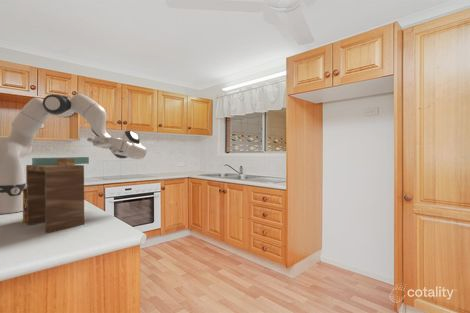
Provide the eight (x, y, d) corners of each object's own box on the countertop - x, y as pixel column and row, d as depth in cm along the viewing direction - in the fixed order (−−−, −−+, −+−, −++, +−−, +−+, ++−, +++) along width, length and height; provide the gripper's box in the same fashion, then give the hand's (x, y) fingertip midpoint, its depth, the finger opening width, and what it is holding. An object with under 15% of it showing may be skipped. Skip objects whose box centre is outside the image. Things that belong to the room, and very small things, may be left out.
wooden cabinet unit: (26, 224, 108) (26, 158, 108) (62, 217, 120) (62, 157, 119) (47, 232, 98) (46, 159, 97) (84, 224, 110) (83, 158, 109)
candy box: (22, 222, 111) (22, 188, 111) (24, 220, 115) (23, 187, 114) (47, 219, 116) (47, 187, 115) (48, 217, 119) (47, 186, 119)
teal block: (32, 165, 107) (32, 157, 107) (85, 163, 125) (85, 157, 125) (35, 165, 105) (35, 158, 105) (88, 163, 124) (88, 157, 124)
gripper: (110, 141, 142) (85, 134, 132) (128, 139, 129) (101, 130, 119) (108, 152, 141) (81, 145, 130) (125, 151, 128) (98, 143, 117)
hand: (91, 138), depth 124 cm, fingers open, 8 cm apart
